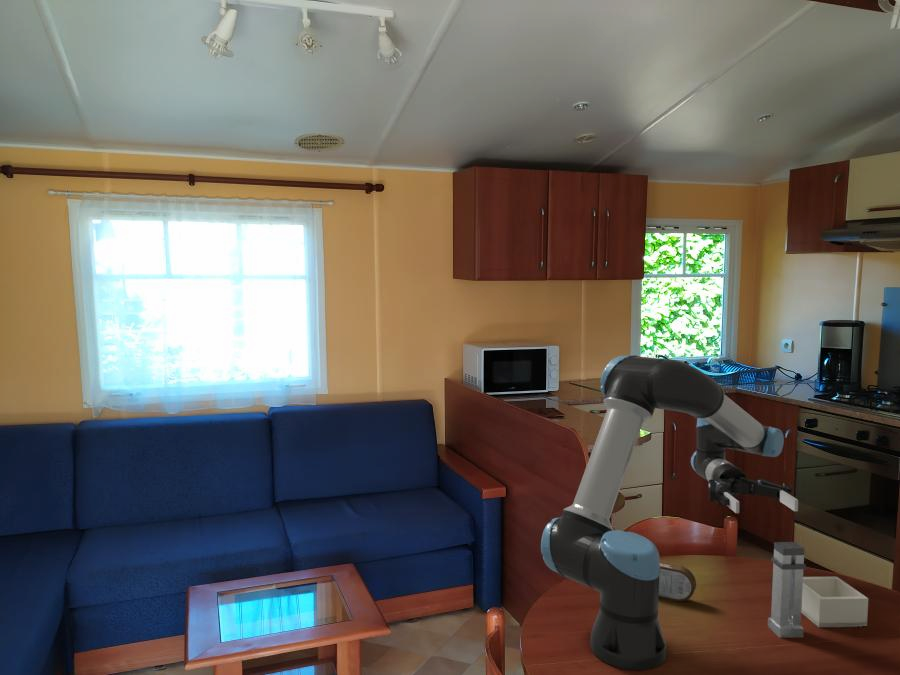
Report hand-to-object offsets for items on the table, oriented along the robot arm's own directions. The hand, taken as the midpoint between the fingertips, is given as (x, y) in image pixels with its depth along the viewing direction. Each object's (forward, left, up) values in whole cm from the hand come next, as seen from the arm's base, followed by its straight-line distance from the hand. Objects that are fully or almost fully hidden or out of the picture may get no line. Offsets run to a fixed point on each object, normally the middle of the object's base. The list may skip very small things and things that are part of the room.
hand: (767, 506), depth 148 cm
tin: (-21, +8, -25) cm, 34 cm away
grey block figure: (0, -9, -25) cm, 27 cm away
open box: (+14, -2, -25) cm, 29 cm away
